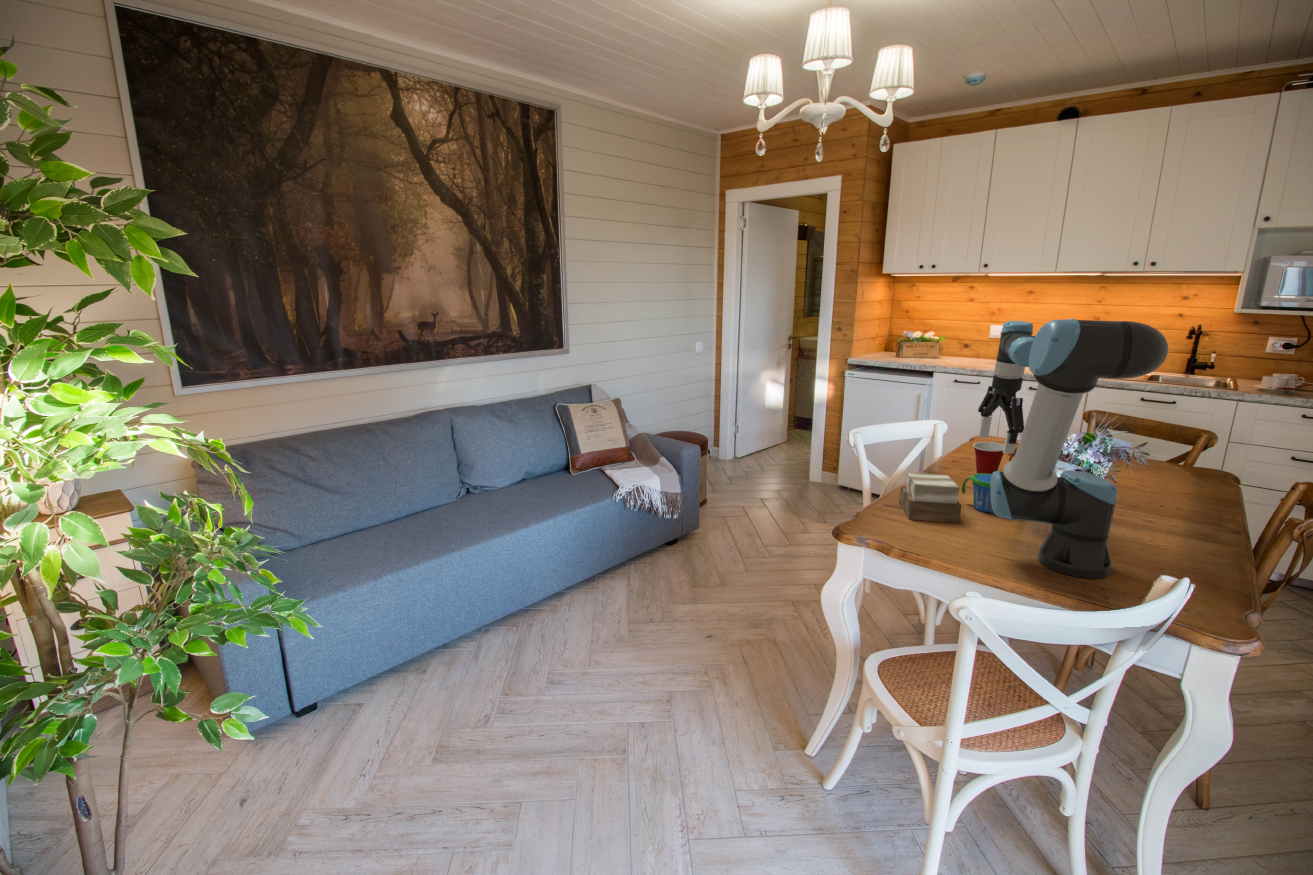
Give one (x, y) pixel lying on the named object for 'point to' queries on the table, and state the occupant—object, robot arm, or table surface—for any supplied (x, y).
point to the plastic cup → (988, 456)
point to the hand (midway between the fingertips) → (995, 444)
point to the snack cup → (980, 491)
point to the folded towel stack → (930, 498)
